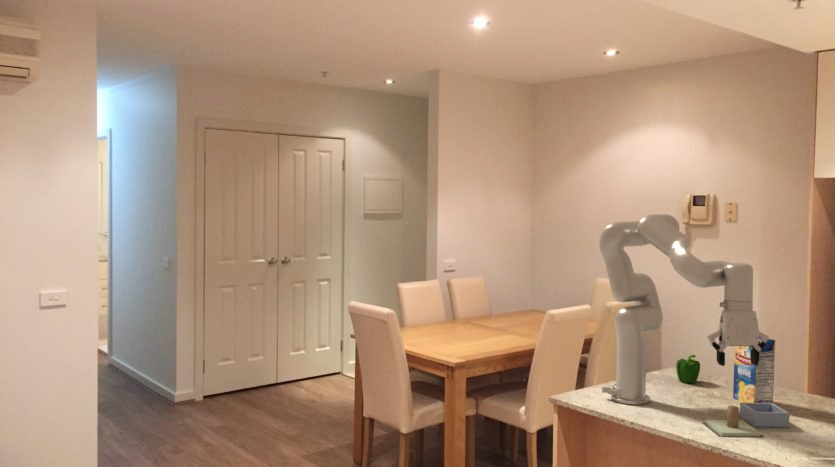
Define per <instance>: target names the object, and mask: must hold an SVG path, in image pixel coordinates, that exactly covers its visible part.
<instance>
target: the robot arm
mask: <svg viewBox="0 0 835 467" xmlns="http://www.w3.org/2000/svg"><path fill="white" fill-rule="evenodd" d="M598 242H599V249H600V254H601V255H602V258H603V262H604V265H605V268H606V269H605V270H606V272H607V277H608V280H609V281H608V282H609V285H610V289H611V293H612V296H613V298H614V300H615V301H617V302H618V303H632V302H633V303H634V305H629V306H625V307H622V308H620V309H619V310H618V311H617V312H616V314H615V316H614V328H615V334H616V372H615V375H616V376H615V377H616V378H615V381H616V382H615V383H613V385H612V386H602V387H601V393H603V394H607V395H610V397H611V400H613V401H615V402H617V403H620V404H626V405H635V406H636V405H637V406H638V405H646V404H649V403H650V402H651V397H650V396H649V395H648V394H646V390H647V389H646V388H647V387H646V386H647V344H646V340H645V339H644V335H643V334H646V333H647V334H649V333H653V332H655V331H657V330H659V329H660V328H661V327H662V325H663V322H664V319H663V312H662V308H661V303H660V298H659V295H658V291H657V286H656V284H655V282H654V281H653V280H652V279H653V278H651V277H650V276H649V275H648V274H645V273H640V272H638V273H635V271H634V268H633V263H632V260H631V258H630V256H629V254H628V253H627V252H626V251H625V250H624V248H626V247H641V246H647V245H652V246H653V247H655V248H656V249H658V251H660V252H662V253H663V254H664V255H666V256H667V258H669V261H670V263H671V265H672V267H673V268H674V271H676V273H677V274H679V275H680V276H681V278H684V279H685V280H686V281H687V282H689V283H690V284H692V285H693V286H696V287H699V288H712V287H715V288H716V287H722V286H723V287H724V288H723V289H724V291H723V292H724V293H723V294H724V295H723V296H724V299H723V301H721V302H719V307H721V308H723V309H722V310H721V314H720V318H719V323H718V324H719V325H718V330H717V331H715V332H712V333H711V334H709V335H708V336H707V339H708V342H709V343H710V346H712V348H713V349H714V350H715V351H716V362H717V364H718V365H719V366H722V367H725V366H726V352H724V351H725V349H726V348H728V347H735V346H751V347H752V348H753V349H752V350H751V363H752V364H754V365H758V362H759V352H760V351H761V349H762V348H763V347H764V346H765V345H766V344H765V343H766V342H767V340H768V338H769V337H770V336H769V335H767V334H765V333H763V332H761V331H759V330H760V329H759V322H758V320H759V319H758V316H757V312H756V310H754V309H753V306H754V305H753V303H754V299H753V297H754V295H753V294H754V267H753V266H752V265H751V264H749V263H741V262H740V263H739V262H733V263H732V262H729V261H724V260H714V261H712V260H711V261H702V260H700V259H699V258H698V257H696V256H695V255H693V254H692V253H691V252H690V251H689V250H688V249H689V246H690V242H691V241H690V238H689V237H688V236H687V235H686V234H685V233H683V232H682V231H680V223H679V221H678V220H677V219H676V218H675V216H672V215H670V214H666V213H665V214H663V213H661V214H648V215H646V216H644V217H642V218H641V219H640V220H639V221H638V220H637V221H635V220H634V221H632V220H631V221H615V222H612V223H610V224H608V225H606V226H605V227H604V228H603V229H602V231H601V233H600V236H599V241H598ZM759 337H761V341H760V342H759ZM717 338H718V343H717V342H716V339H717Z"/></svg>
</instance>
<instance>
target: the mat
mask: <svg viewBox="0 0 835 467" xmlns="http://www.w3.org/2000/svg"><path fill="white" fill-rule="evenodd" d="M702 424H703V426H705V427H707V428H708V429H709V431H711V432H712V433H713V434H715V435H716V436H717V437H719V438H765V435H763V434H761V435H760V436H721V435H720V434H718V433H717V432H716V431H715V430H714V429H712V428H711V427H710V426H709V425H707V424H706V422H702Z"/></svg>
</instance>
